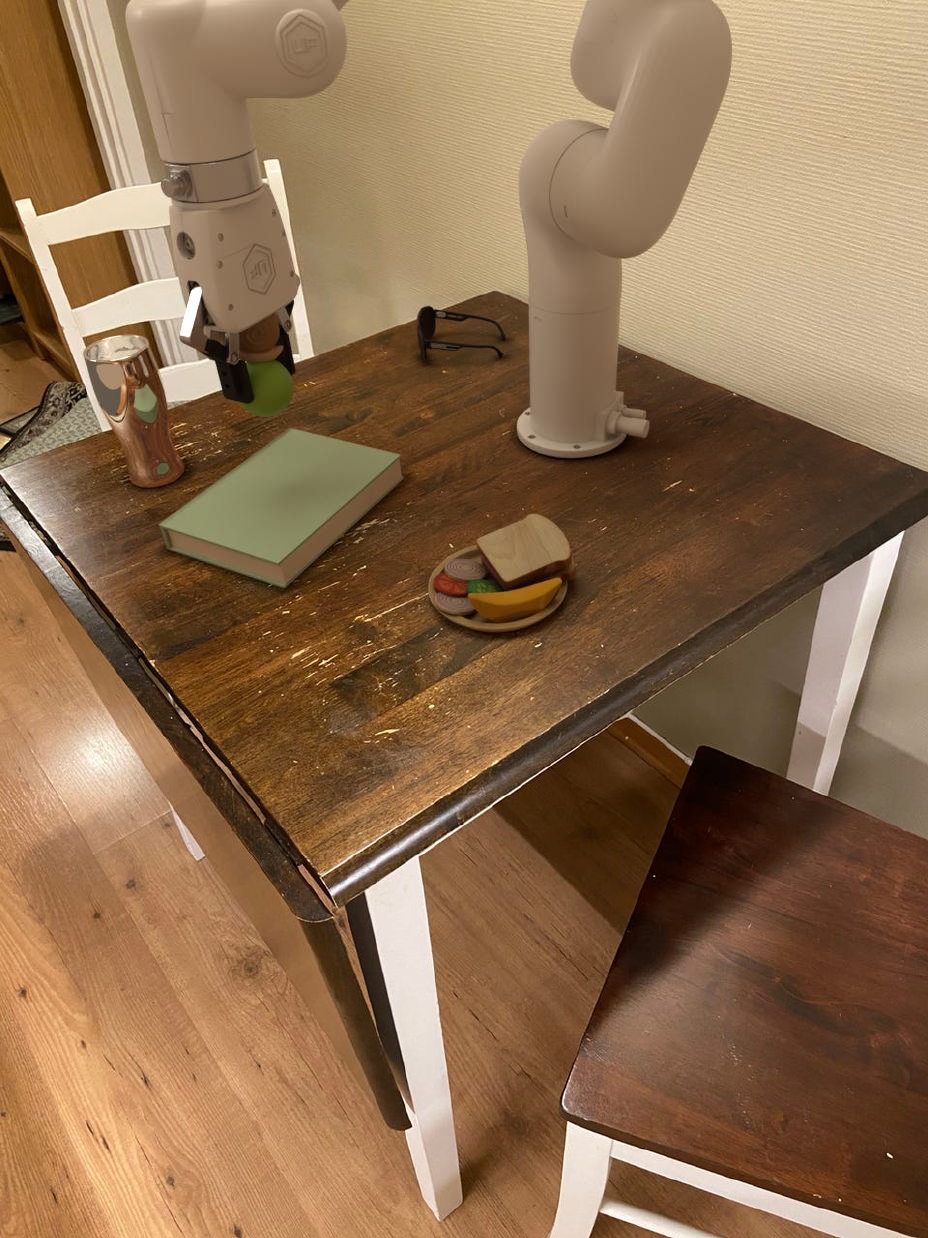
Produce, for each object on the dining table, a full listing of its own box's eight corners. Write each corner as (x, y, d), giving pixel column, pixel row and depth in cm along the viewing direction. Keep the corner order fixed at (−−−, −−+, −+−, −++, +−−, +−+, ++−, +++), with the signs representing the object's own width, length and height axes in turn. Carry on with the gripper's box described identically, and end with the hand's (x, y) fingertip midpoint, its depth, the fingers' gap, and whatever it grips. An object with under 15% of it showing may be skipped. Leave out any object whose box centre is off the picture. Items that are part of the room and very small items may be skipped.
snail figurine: (234, 403, 86) (203, 280, 79) (299, 397, 87) (275, 274, 79) (228, 430, 82) (194, 303, 74) (296, 424, 82) (270, 296, 75)
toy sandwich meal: (415, 567, 84) (410, 526, 80) (551, 539, 86) (551, 498, 83) (447, 652, 74) (443, 610, 71) (598, 619, 76) (600, 575, 73)
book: (403, 478, 96) (400, 454, 94) (284, 588, 82) (278, 563, 80) (294, 450, 102) (289, 427, 100) (166, 549, 88) (158, 524, 86)
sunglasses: (421, 333, 125) (422, 298, 122) (505, 342, 125) (508, 307, 121) (410, 365, 117) (412, 329, 114) (500, 375, 117) (504, 339, 113)
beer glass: (172, 492, 97) (130, 362, 87) (115, 488, 98) (67, 360, 88) (198, 459, 102) (162, 333, 92) (144, 456, 103) (101, 332, 93)
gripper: (174, 212, 64) (231, 435, 76) (315, 153, 75) (346, 356, 87) (101, 203, 67) (167, 419, 79) (247, 147, 78) (285, 344, 90)
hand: (260, 384), depth 83 cm, fingers closed on snail figurine, 5 cm apart
